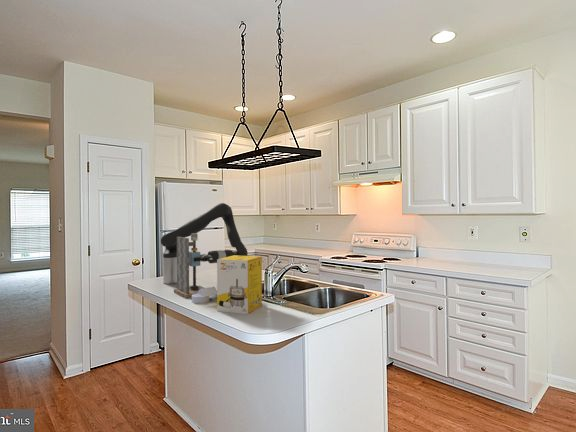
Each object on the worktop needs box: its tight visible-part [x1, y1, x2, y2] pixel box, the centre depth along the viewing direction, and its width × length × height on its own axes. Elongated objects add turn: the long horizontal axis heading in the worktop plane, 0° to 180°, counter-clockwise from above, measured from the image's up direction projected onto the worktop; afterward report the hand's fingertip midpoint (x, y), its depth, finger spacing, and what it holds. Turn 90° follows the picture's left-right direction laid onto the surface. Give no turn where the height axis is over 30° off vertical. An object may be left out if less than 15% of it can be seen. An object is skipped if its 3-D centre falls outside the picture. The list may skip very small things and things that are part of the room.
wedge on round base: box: [191, 286, 217, 304], centre depth 191 cm, size 9×7×13 cm
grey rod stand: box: [173, 233, 205, 299], centre depth 208 cm, size 18×16×35 cm
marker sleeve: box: [189, 250, 201, 267], centre depth 208 cm, size 5×5×8 cm
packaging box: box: [216, 255, 263, 315], centre depth 176 cm, size 16×16×25 cm
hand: (191, 258), depth 207 cm, fingers open, 8 cm apart
